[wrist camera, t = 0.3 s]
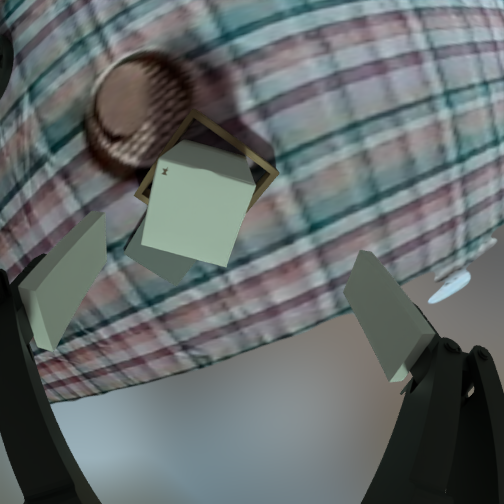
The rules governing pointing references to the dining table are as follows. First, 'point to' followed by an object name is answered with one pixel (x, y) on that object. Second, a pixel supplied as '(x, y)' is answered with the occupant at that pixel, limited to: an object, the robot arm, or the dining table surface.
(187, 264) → the coaster
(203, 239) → the supplement box
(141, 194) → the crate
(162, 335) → the dining table surface
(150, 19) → the dining table surface
